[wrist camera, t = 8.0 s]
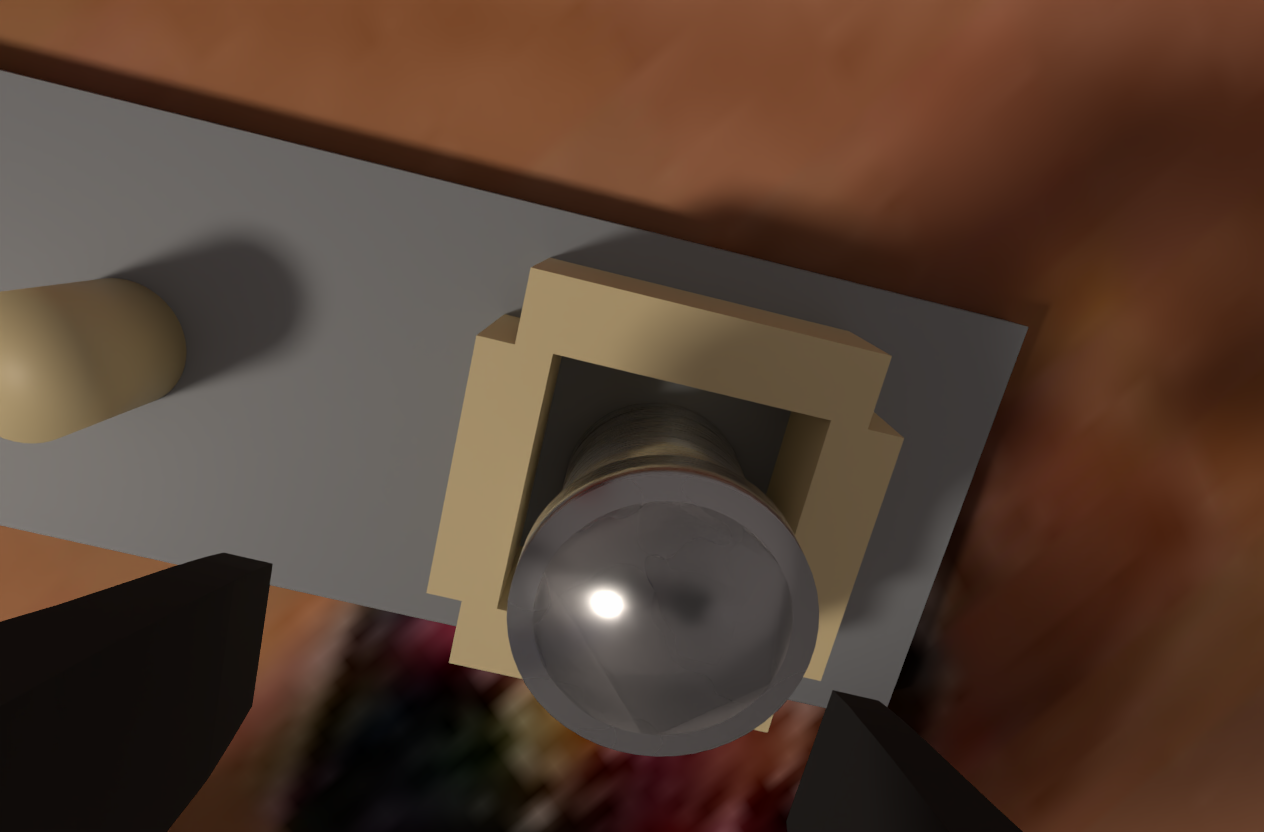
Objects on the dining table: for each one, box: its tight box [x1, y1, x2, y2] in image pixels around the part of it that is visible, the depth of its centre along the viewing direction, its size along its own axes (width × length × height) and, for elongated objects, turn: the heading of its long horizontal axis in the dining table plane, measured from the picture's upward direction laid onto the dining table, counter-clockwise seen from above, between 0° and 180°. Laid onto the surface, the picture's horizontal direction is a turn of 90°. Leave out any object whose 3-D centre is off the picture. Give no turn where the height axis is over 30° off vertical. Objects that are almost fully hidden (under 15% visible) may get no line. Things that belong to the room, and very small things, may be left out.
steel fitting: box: [507, 402, 819, 756], centre depth 15 cm, size 5×5×6 cm
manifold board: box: [0, 69, 1028, 733], centre depth 17 cm, size 10×24×4 cm, turn 76°
